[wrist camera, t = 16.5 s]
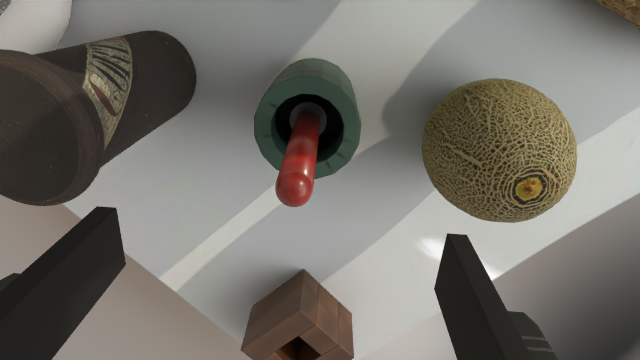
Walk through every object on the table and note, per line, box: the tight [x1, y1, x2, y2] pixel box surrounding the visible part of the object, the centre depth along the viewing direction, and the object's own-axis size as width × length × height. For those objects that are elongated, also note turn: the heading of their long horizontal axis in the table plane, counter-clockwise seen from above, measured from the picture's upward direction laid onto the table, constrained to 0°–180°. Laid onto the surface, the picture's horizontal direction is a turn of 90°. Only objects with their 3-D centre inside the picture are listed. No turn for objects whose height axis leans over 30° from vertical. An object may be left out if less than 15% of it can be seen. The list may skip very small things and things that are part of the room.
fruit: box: [422, 79, 577, 223], centre depth 34 cm, size 11×11×15 cm
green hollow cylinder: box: [254, 59, 361, 179], centre depth 36 cm, size 8×8×10 cm
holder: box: [241, 270, 354, 360], centre depth 48 cm, size 9×9×7 cm
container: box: [0, 31, 196, 206], centre depth 30 cm, size 9×9×20 cm
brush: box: [275, 94, 328, 207], centre depth 30 cm, size 3×3×21 cm
